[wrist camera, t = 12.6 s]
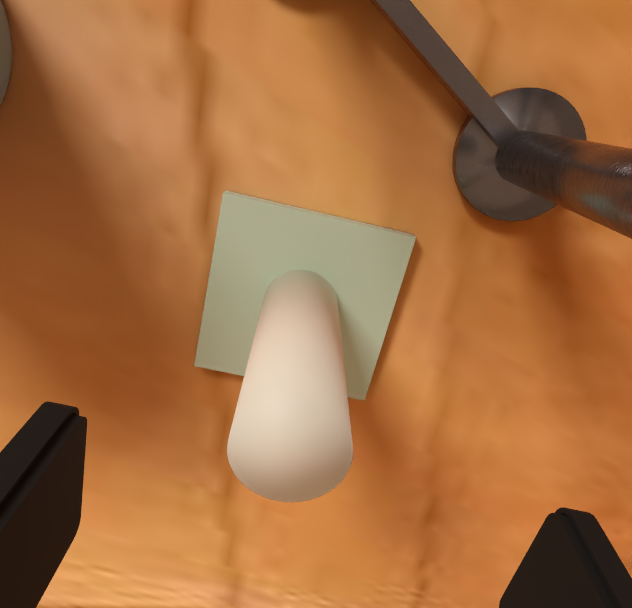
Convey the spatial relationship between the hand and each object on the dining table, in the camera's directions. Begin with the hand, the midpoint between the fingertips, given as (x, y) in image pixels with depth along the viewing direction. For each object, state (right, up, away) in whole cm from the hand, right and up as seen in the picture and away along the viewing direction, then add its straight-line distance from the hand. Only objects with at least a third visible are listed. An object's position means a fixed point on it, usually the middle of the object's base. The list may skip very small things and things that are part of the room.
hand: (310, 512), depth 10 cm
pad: (-1, +4, +13) cm, 13 cm away
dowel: (-1, +4, +12) cm, 13 cm away
